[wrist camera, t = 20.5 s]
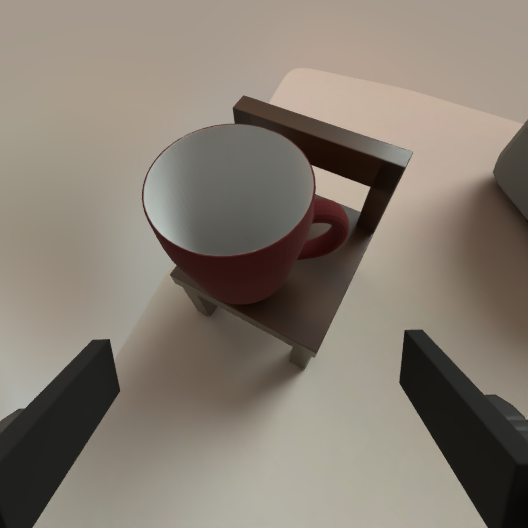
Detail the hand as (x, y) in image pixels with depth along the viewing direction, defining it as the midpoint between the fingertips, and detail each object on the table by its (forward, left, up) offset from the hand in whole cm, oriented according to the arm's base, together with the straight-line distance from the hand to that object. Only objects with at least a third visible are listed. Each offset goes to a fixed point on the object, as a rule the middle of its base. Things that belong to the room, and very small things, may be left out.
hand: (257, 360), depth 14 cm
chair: (+9, +4, -14) cm, 18 cm away
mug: (+7, +4, -7) cm, 10 cm away
